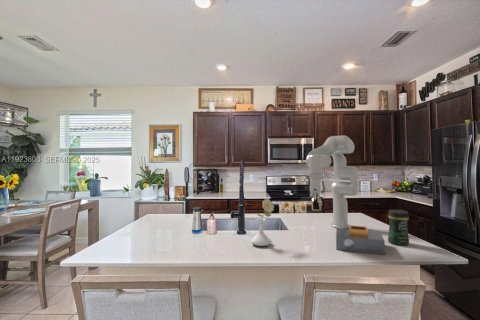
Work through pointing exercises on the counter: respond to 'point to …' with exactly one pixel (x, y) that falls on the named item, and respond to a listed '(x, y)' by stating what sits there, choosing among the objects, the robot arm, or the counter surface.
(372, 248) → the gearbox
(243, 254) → the counter surface
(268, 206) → the flower in vase
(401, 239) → the coffee jar
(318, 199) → the brass can
